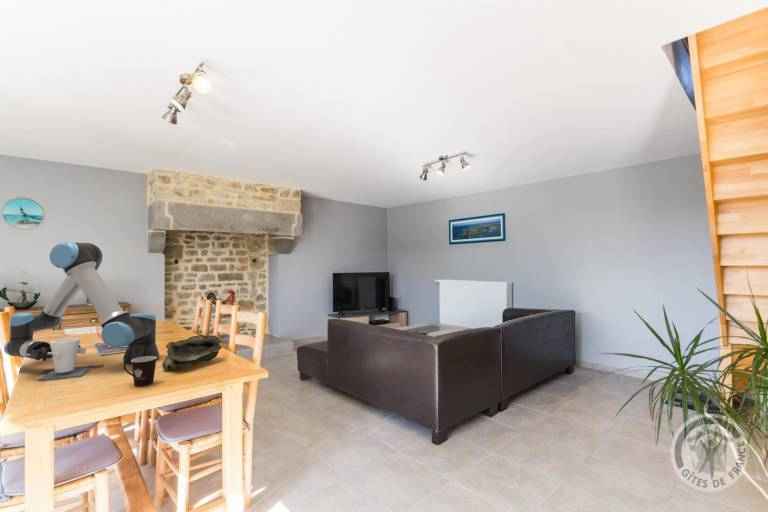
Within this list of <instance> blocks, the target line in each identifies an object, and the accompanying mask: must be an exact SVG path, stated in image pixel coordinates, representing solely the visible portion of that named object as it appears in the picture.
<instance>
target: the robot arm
mask: <svg viewBox="0 0 768 512" xmlns="http://www.w3.org/2000/svg"><path fill="white" fill-rule="evenodd" d="M49 261H50V263H51V264H52V265H53V266H54V267H55V268H57V269H62V270H63V272H64V273H65V274H66V275H67V276H66V277H65V279H63V281H62V283H61V284H60V286H58V288H57V290H56V291H55V293H54V294H53V295H52V296H51V298H50V299H49V301H48V302H47V304H46V305H45V307H43V309H42V311H41V312H40V313H39V314H36V315H35V314H34V313H33V312H20V313H18V312H17V313H13V314H12V315H10V319H9V341H7V342H6V343H5V345H3V346H4V347H3V351H4V353H5V354H6V355H8V356H12V357H16V358H18V357H19V358H26V359H27V358H29V359H30V360H35V361H41V360H42V362H45V361H47V360H52V361H53V360H60V353H53V352H52V351H51V347H50V342H47V341H41V340H34V333H35V332H39V331H44V330H45V331H46V330H49V329H53V328H56V327H59V326H60V325H61V324H62V322H63V316H62V315H63V314H64V312H65V311H66V310H67V308H68V307H69V305H70V304H71V303H72V301H73V300H74V299H75V297H76V296H77V294H78V293H79V291H80V290H81V291H82V293H83V294H84V296H85V297H86V299H87V300H88V302H89V303H90V304H91V306H92V308H93V309H94V311H95V312H96V314H97V315H98V317H99V318H100V319H101V323H100V327H101V334H100V336H101V337H100V338H101V340H102V342H104V344H105V345H107V346H109V347H111V348H123V347H126V349H125V352H124V355H123V357H122V363H123V364H125V363H127V362H131V360H132V359H135V358H139V357H146V356H154V357H157V359H156V361H157V360H159V359H160V357H161V356H160V355H161V354H160V350H159V349H158V346H157V344H156V340H157V339H156V338H157V336H156V335H157V334H156V333H157V332H156V330H157V326H156V325H157V319H156V315H155V314H154V313H131V314H130V312H129V311H126V310H123V308H122V307H121V305H120V304H119V303H118V301H117V300H116V298H115V296H114V294H113V293H112V292H111V290H110V288H108V286H107V284H106V283H105V282H104V280H103V278H102V277H101V275H100V274H99V273H98V269H99V267H100V266H101V264H102V261H103V252H102V250H101V248H100V247H99V246H97V245H96V244H94V243H90V242H74V241H62V242H59V243H57V244H55V245H54V246H53V247H52V248H51V250H50V253H49ZM86 350H87V347H81V345H80V344H79V346H78V351H77V355H86V353H87V351H86ZM127 365H130V364H129V363H128V364H127Z"/></svg>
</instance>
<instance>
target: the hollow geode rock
mask: <svg viewBox="0 0 768 512" xmlns="http://www.w3.org/2000/svg"><path fill="white" fill-rule="evenodd" d="M221 342H222V340H221V339H219V337H218V336H216V335H212V334H211V335H210V334H209V335H202V334H199V335H193V336H191V337H188V338H187V339H186V338H185V339H182V340H177V341H175V342H174V341H170V342H168V343H167V345H165V348H166V349H167V350H166V353H167V355H166V358H165V359H164V360H163V361H162V363H161V366H162V369H163V370H164V371H167V372H168V371H169V372H170V371H171V372H172V371H180V370H182V369H183V368H184V367H187V366H188V365H189V366H190V365H191V366H192V365H193V366H194V365H199V364H200V363H204V362H209V361H212V360H213V359H215V358H217V356H218V354H219V351H220V350H221V349H222V348H223V346H221V344H220V343H221Z"/></svg>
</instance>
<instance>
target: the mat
mask: <svg viewBox="0 0 768 512" xmlns="http://www.w3.org/2000/svg"><path fill="white" fill-rule="evenodd" d="M91 369H92V368H91V367H90V368H79V369H74V370H72V371H68V372H62V373H56V372H55V371H51V372H48V373H45V375H43V376H42V377H40V378H38V382H46V381H55V380H64V379H74V378H81V377H83V376H84V375H85V374H86V373H88V372H89V371H90V370H91Z"/></svg>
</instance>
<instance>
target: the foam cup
mask: <svg viewBox="0 0 768 512" xmlns="http://www.w3.org/2000/svg"><path fill="white" fill-rule="evenodd" d="M49 344H50V347H51V351H52V352H53V353H60V360H52V363H53V367H54V368H53V369H54V370H55V372H56V373H62V372H68V371H72V370H74V368H75V367H76V361H77V356H78V354H77V351H78V346H79V345H80V338H79V337H66V338H59V339H54V340H51V341H50V342H49Z"/></svg>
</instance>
